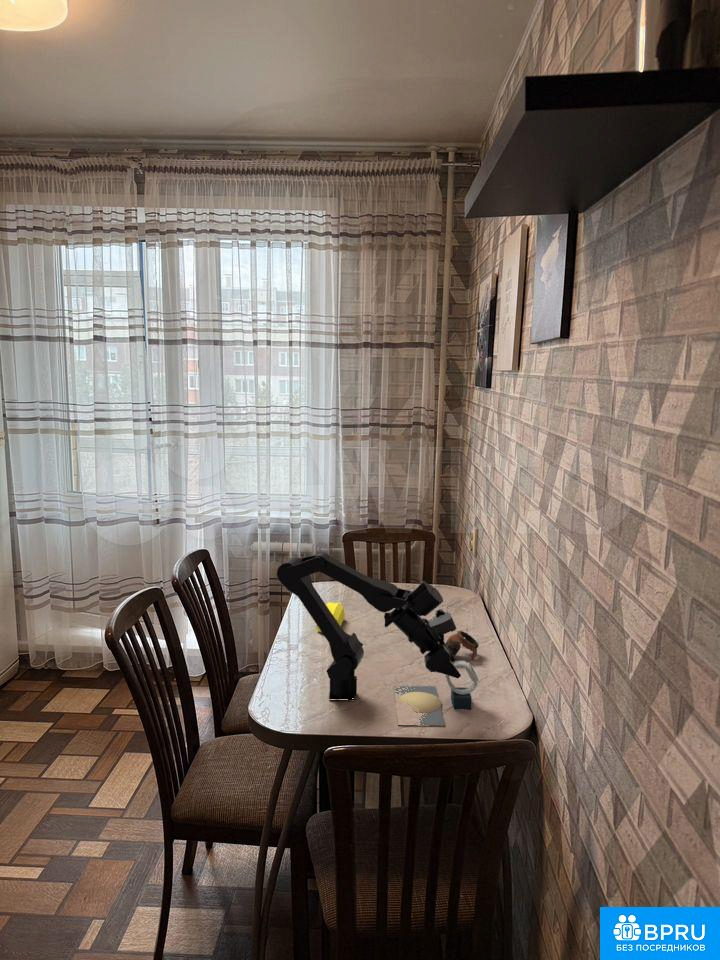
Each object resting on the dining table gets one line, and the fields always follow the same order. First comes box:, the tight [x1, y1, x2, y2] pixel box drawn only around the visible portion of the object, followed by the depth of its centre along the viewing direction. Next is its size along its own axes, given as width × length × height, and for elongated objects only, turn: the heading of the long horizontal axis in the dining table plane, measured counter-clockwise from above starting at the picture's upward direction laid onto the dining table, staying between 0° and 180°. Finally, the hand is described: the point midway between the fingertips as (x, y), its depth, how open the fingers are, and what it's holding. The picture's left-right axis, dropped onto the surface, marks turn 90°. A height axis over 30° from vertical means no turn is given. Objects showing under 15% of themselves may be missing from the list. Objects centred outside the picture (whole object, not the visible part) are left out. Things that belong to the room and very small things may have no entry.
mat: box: [393, 685, 446, 727], centre depth 163 cm, size 12×20×1 cm, turn 0°
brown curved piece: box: [445, 630, 480, 660], centre depth 192 cm, size 12×10×8 cm
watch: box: [445, 660, 480, 711], centre depth 163 cm, size 6×8×11 cm
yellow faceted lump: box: [315, 601, 346, 633], centre depth 216 cm, size 18×7×8 cm
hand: (456, 668), depth 163 cm, fingers open, 9 cm apart
